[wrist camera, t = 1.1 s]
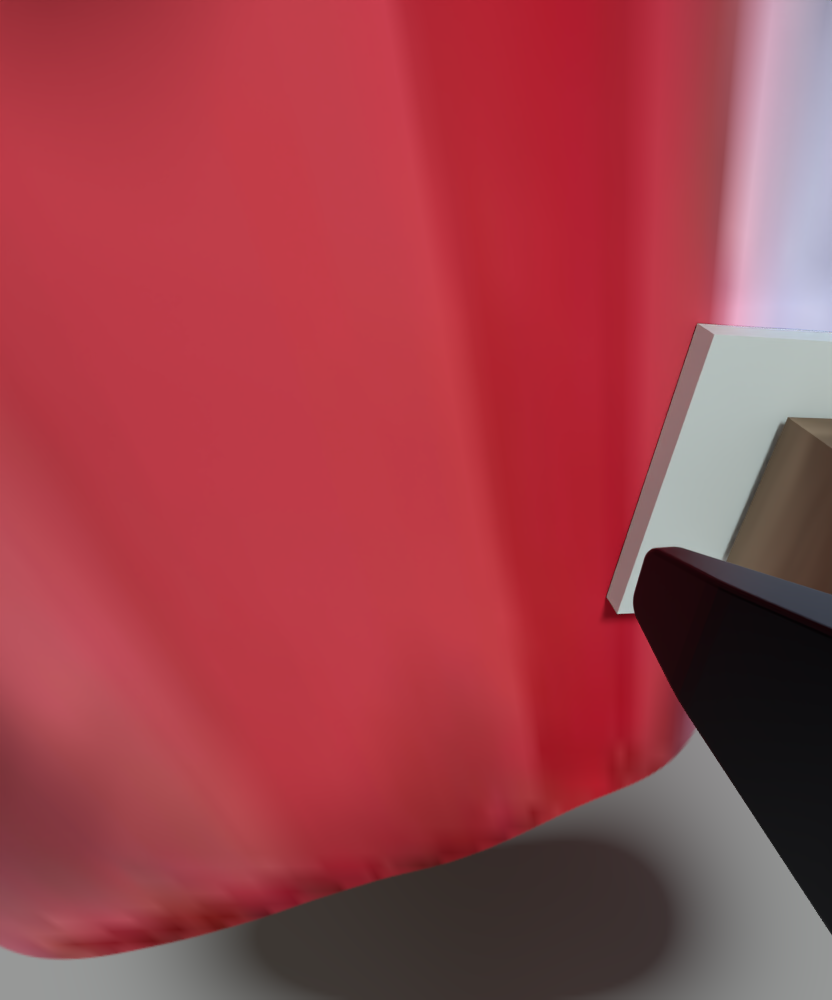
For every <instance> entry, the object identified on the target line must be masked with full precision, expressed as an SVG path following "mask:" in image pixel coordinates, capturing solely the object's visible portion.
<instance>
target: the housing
mask: <svg viewBox="0 0 832 1000" xmlns="http://www.w3.org/2000/svg"><path fill="white" fill-rule="evenodd" d="M788 417H798V418H829V419H832V332H821V331H806V330H790V329H775V328H759V327H744V326H728V325H713V324H698V323H697V326H696V329H695V332H694V335H693V338H692V341H691V344H690V347H689V350H688V353H687V356H686V359H685V362H684V365H683V368H682V371H681V374H680V377H679V380H678V383H677V386H676V389H675V392H674V395H673V398H672V401H671V404H670V407H669V410H668V413H667V416H666V419H665V422H664V425H663V428H662V431H661V434H660V438H659V441H658V444H657V447H656V450H655V453H654V456H653V459H652V462H651V465H650V468H649V471H648V474H647V477H646V480H645V483H644V486H643V489H642V492H641V495H640V498H639V501H638V504H637V507H636V510H635V513H634V516H633V519H632V522H631V525H630V528H629V531H628V534H627V537H626V540H625V543H624V546H623V549H622V552H621V555H620V558H619V561H618V564H617V567H616V570H615V573H614V576H613V579H612V582H611V585H610V588H609V591H608V594H607V599H608V600H609V602H610V603H611V605H612V606H613V608H614V610H615V611H616V613H617V614H626V613H634V609H633V595H634V591H635V588H636V584H637V581H638V577H639V574H640V571H641V567H642V564H643V560H644V557H645V555H646V553H647V552H648V551H649V550H651V549H652V548H659V547H673V546H675V547H682V548H685V549H688V550H691V551H694V552H697V553H701V554H704V555H707V556H710V557H713V558H717V559H720V560H723V561H726V560H727V558H728V556H729V553H730V551H731V549H732V546H733V544H734V542H735V539H736V537H737V535H738V532H739V530H740V528H741V525H742V523H743V521H744V518H745V516H746V514H747V511H748V509H749V507H750V504H751V502H752V500H753V497H754V495H755V493H756V490H757V488H758V486H759V483H760V481H761V479H762V476H763V474H764V472H765V469H766V467H767V465H768V462H769V460H770V458H771V455H772V453H773V451H774V448H775V446H776V444H777V441H778V439H779V437H780V434H781V432H782V430H783V427H784V425H785V423H786V420H787V418H788Z"/></svg>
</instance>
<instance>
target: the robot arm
mask: <svg viewBox="0 0 832 1000" xmlns="http://www.w3.org/2000/svg"><path fill="white" fill-rule="evenodd" d="M633 609H634V613H635V616H636V619H637V620H638V622H639V624H640V626H641V628H642V630H643V632H644V634H645V636H646V638H647V640H648V642H649V644H650V646H651V648H652V650H653V652H654V654H655V656H656V658H657V660H658V662H659V664H660V666H661V668H662V670H663V672H664V674H665V676H666V678H667V680H668V682H669V684H670V686H671V688H672V689H673V691H674V693H675V695H676V697H677V698H678V700H679V702H680V703H681V705H682V707H683V708H684V710H685V712H686V713H687V715H688V716H689V718H690V719H691V721H692V722H693V724H694V725H695V727H696V728H697V730H698V731H699V733H700V734H701V736H702V738H703V739H704V741H705V742H706V744H707V745H708V747H709V748H710V750H711V751H712V753H713V754H714V756H715V757H716V759H717V761H718V762H719V763H720V765H721V767H722V768H723V770H724V771H725V773H726V774H727V776H728V777H729V779H730V780H731V782H732V783H733V785H734V786H735V788H736V790H737V791H738V793H739V794H740V795H741V797H742V799H743V800H744V802H745V803H746V805H747V806H748V808H749V809H750V811H751V812H752V814H753V815H754V817H755V819H756V820H757V822H758V823H759V825H760V826H761V828H762V829H763V831H764V832H765V834H766V835H767V837H768V838H769V840H770V841H771V843H772V844H773V846H774V847H775V849H776V851H777V852H778V854H779V855H780V857H781V858H782V860H783V861H784V863H785V864H786V865H787V867H788V869H789V870H790V872H791V873H792V875H793V876H794V878H795V880H796V881H797V883H798V884H799V886H800V887H801V889H802V890H803V891H804V893H805V895H806V896H807V898H808V899H809V901H810V902H811V904H812V905H813V907H814V909H815V910H816V912H817V913H818V915H819V916H820V918H821V919H822V921H823V922H824V924H825V925H826V927H827V928H828V930H829V931H830V933H831V934H832V595H831V594H828V593H825V592H822V591H818V590H815V589H812V588H809V587H806V586H803V585H799V584H796V583H793V582H790V581H787V580H783V579H780V578H777V577H774V576H771V575H768V574H764V573H761V572H758V571H755V570H752V569H748V568H745V567H742V566H739V565H736V564H732V563H729V562H726V561H723V560H720V559H717V558H713V557H710V556H707V555H704V554H701V553H697V552H694V551H691V550H688V549H685V548H682V547H675V546H673V547H659V548H652V549H651V550H649V551H648V552H647V553H646V555H645V557H644V560H643V564H642V567H641V571H640V574H639V577H638V581H637V584H636V588H635V591H634V595H633Z"/></svg>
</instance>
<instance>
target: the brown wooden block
mask: <svg viewBox="0 0 832 1000" xmlns="http://www.w3.org/2000/svg"><path fill="white" fill-rule="evenodd" d="M726 562H729V563H732V564H736V565H739V566H742V567H745V568H748V569H752V570H755V571H758V572H761V573H764V574H768V575H771V576H774V577H777V578H780V579H783V580H787V581H790V582H793V583H796V584H799V585H803V586H806V587H809V588H812V589H815V590H818V591H822V592H825V593H828V594H831V595H832V419H829V418H798V417H788V418H787V420H786V423H785V425H784V427H783V430H782V432H781V434H780V437H779V439H778V441H777V444H776V446H775V448H774V451H773V453H772V455H771V458H770V460H769V462H768V465H767V467H766V469H765V472H764V474H763V476H762V479H761V481H760V483H759V486H758V488H757V490H756V493H755V495H754V497H753V500H752V502H751V504H750V507H749V509H748V511H747V514H746V516H745V518H744V521H743V523H742V525H741V528H740V530H739V532H738V535H737V537H736V539H735V542H734V544H733V546H732V549H731V551H730V553H729V556H728V558H727V560H726Z"/></svg>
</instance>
